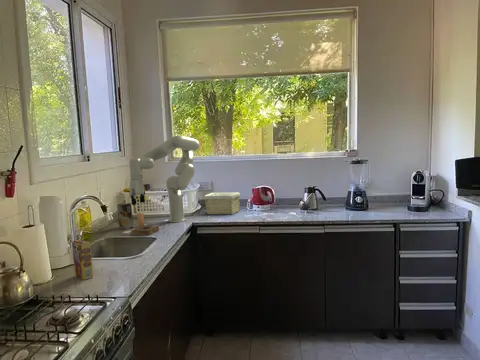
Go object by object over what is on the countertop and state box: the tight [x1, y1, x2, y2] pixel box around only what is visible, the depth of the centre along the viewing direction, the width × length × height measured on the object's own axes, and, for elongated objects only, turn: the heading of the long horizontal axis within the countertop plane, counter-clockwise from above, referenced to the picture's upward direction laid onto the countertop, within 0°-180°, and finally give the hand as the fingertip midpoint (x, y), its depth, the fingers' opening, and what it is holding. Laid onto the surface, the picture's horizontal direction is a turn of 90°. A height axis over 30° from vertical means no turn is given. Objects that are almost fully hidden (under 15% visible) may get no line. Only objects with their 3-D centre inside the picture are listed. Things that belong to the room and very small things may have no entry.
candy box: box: [71, 239, 94, 281], centre depth 156 cm, size 9×4×15 cm, turn 47°
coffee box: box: [116, 202, 134, 229], centre depth 250 cm, size 9×6×16 cm
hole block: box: [130, 225, 160, 236], centre depth 231 cm, size 12×12×3 cm
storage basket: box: [203, 191, 241, 215], centre depth 282 cm, size 24×16×15 cm
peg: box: [136, 212, 145, 228], centre depth 244 cm, size 4×4×10 cm
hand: (138, 203), depth 243 cm, fingers open, 9 cm apart
